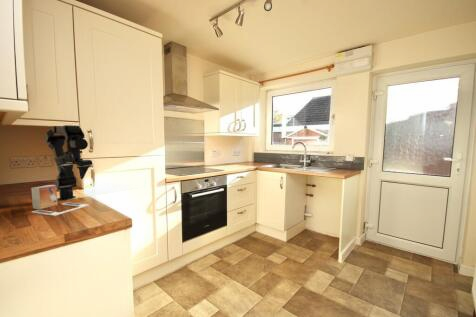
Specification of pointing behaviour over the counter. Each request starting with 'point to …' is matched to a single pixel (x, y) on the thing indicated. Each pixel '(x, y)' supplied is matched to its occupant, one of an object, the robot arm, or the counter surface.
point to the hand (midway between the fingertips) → (75, 178)
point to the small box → (44, 196)
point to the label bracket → (60, 212)
